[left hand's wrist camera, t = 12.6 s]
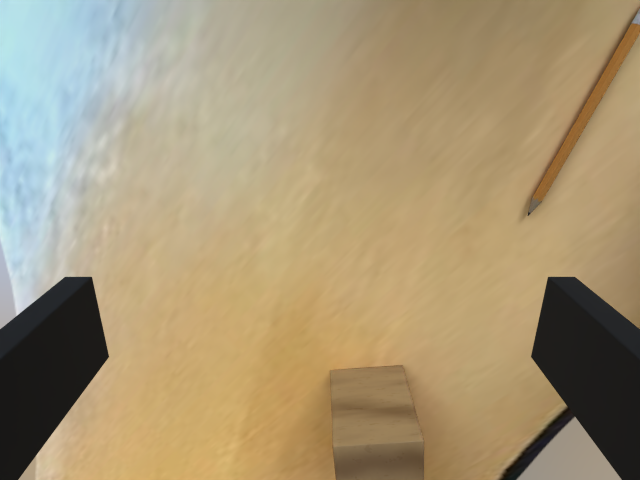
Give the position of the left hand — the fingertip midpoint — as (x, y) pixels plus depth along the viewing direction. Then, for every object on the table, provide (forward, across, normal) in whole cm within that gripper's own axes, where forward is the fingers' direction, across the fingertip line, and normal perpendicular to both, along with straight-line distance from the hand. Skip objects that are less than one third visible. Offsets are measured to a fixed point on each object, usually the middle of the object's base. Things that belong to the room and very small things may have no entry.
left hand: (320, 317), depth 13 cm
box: (+28, +6, -38) cm, 47 cm away
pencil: (+28, +23, +3) cm, 36 cm away
